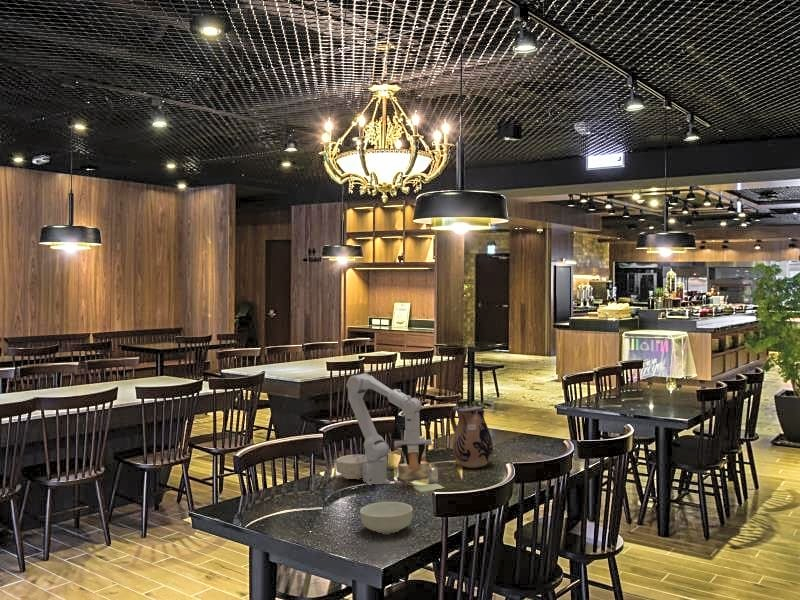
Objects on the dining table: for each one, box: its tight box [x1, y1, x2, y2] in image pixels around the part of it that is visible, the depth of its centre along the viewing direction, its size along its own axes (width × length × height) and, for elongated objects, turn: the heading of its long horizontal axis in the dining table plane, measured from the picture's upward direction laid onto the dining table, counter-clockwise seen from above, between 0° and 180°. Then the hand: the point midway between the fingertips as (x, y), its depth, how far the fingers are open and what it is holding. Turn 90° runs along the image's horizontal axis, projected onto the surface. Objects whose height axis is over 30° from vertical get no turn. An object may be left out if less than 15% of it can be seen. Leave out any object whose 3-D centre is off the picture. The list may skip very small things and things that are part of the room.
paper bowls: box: [335, 453, 368, 480], centre depth 297 cm, size 15×15×8 cm
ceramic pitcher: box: [449, 406, 494, 469], centre depth 312 cm, size 18×21×25 cm
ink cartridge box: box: [403, 429, 427, 464], centre depth 319 cm, size 9×5×15 cm, turn 62°
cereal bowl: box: [359, 501, 414, 535], centre depth 230 cm, size 17×17×7 cm
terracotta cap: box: [408, 452, 419, 470], centre depth 281 cm, size 4×4×6 cm
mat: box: [413, 483, 445, 494], centre depth 277 cm, size 10×7×1 cm
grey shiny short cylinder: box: [427, 466, 439, 485], centre depth 285 cm, size 4×4×6 cm
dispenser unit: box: [396, 460, 430, 482], centre depth 293 cm, size 13×5×6 cm, turn 112°
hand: (413, 464), depth 281 cm, fingers closed on terracotta cap, 4 cm apart
